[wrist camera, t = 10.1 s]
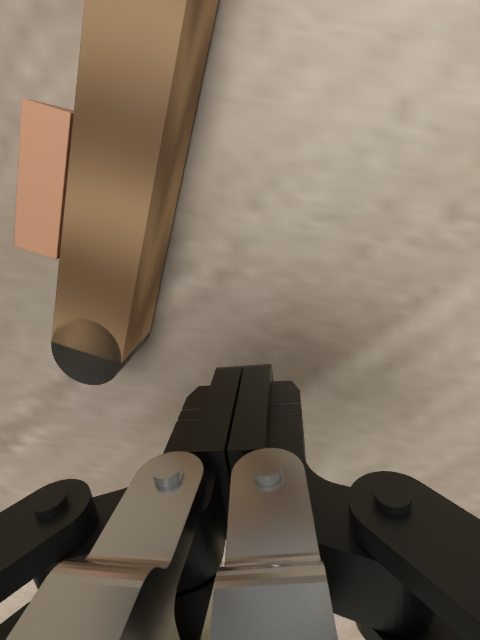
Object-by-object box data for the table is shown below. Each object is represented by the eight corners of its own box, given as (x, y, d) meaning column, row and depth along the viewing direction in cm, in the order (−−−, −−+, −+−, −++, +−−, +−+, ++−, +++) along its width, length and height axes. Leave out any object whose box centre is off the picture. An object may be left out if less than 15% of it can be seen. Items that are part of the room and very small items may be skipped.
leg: (169, -248, 14) (123, -397, 10) (264, -222, 14) (252, -362, 10) (88, 339, 23) (48, 372, 20) (144, 357, 23) (115, 393, 19)
